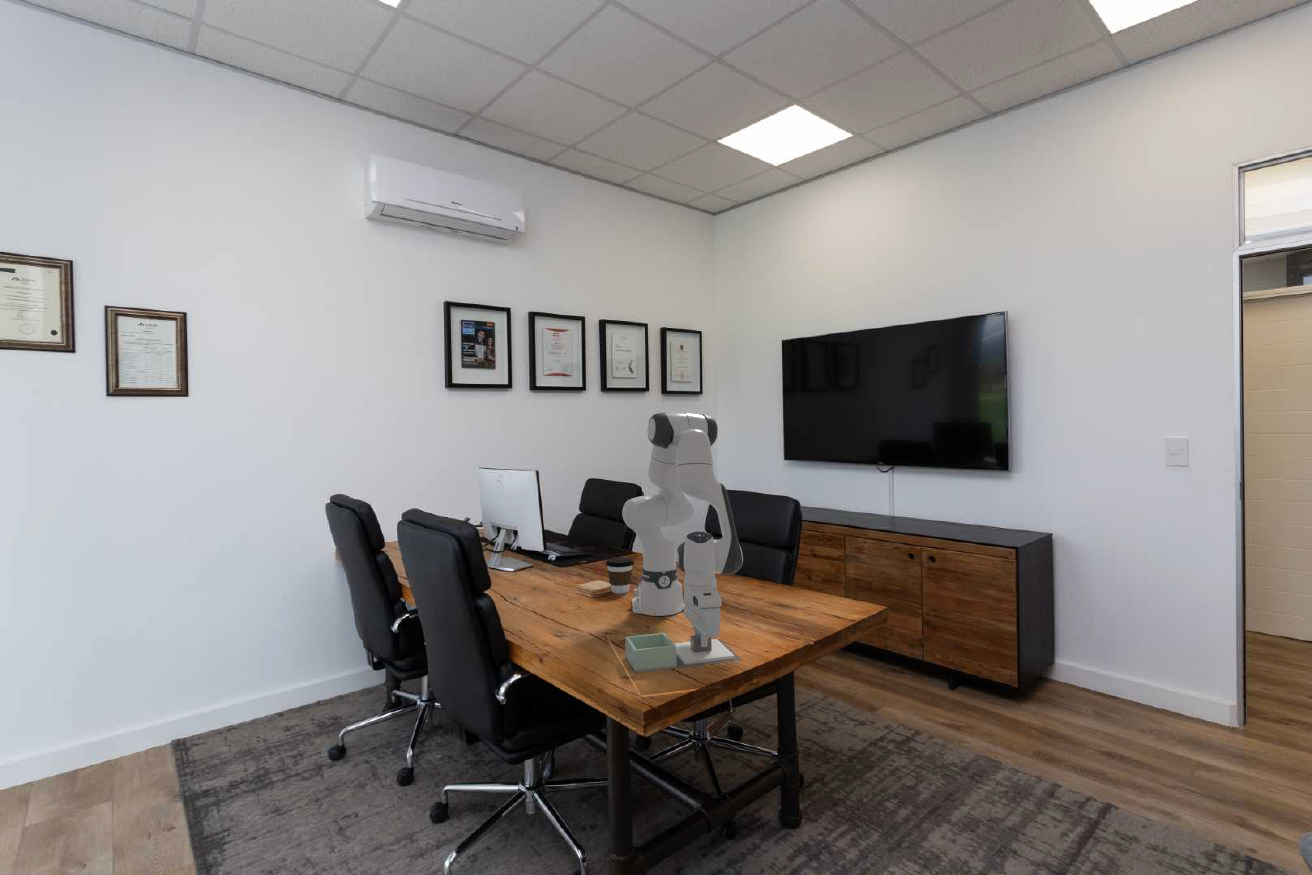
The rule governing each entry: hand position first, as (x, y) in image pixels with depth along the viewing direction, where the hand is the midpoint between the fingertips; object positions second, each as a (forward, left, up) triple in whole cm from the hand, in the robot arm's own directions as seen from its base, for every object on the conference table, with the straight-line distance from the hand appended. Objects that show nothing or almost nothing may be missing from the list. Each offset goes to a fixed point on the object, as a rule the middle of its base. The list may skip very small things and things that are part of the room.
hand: (701, 643), depth 177 cm
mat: (0, 0, -3) cm, 3 cm away
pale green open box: (+3, -15, -3) cm, 16 cm away
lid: (0, 0, -2) cm, 2 cm away
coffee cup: (-71, -8, -3) cm, 72 cm away
